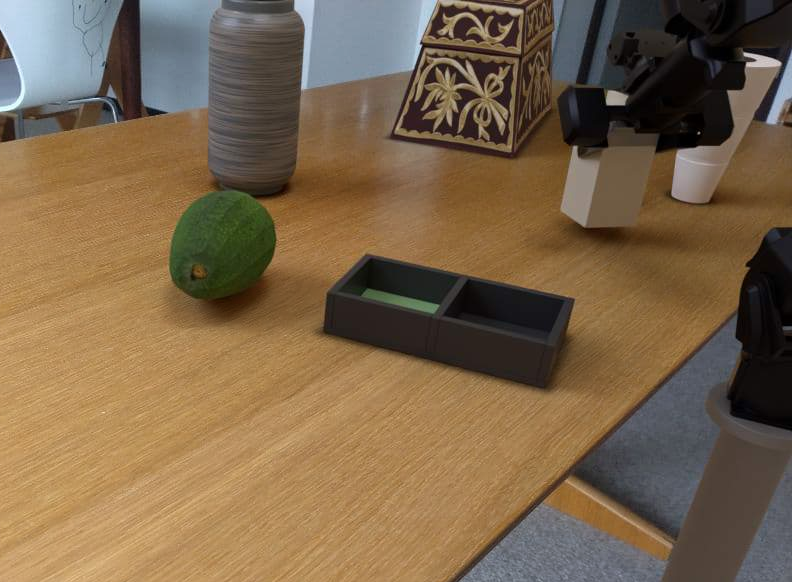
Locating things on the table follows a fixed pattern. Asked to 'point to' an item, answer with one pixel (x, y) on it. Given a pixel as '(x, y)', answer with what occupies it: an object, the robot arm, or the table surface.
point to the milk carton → (610, 178)
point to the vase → (254, 94)
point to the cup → (708, 163)
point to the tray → (450, 318)
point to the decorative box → (480, 76)
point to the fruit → (221, 245)
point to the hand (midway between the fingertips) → (606, 153)
